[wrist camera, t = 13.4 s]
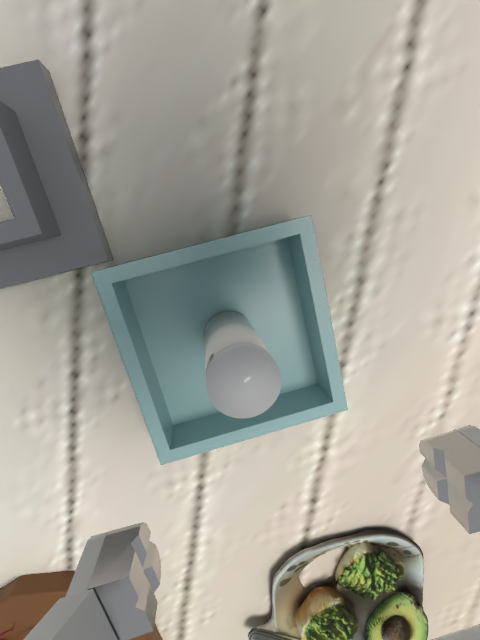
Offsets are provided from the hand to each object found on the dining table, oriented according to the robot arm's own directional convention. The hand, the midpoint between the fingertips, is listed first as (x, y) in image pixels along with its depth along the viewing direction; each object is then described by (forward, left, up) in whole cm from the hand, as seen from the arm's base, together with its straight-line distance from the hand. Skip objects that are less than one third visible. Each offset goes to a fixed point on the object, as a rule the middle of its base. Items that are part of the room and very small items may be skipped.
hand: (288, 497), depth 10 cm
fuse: (0, 0, -18) cm, 18 cm away
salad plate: (-5, +33, -20) cm, 39 cm away
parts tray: (0, 0, -19) cm, 19 cm away
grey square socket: (+14, -14, -19) cm, 28 cm away
